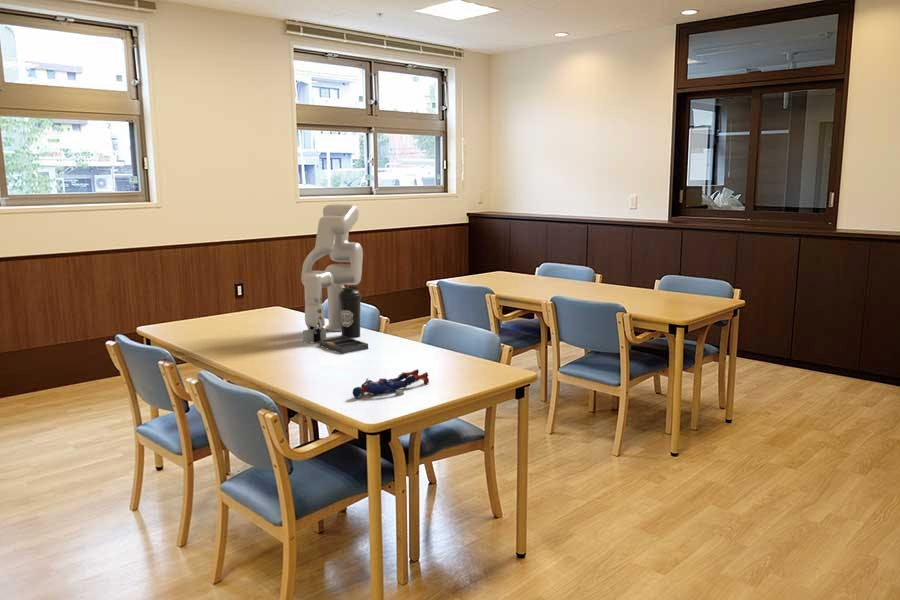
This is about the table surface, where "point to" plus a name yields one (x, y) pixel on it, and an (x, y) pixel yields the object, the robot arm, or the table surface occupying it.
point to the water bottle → (350, 311)
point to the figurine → (390, 384)
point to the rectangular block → (312, 335)
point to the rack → (343, 344)
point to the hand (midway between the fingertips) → (314, 340)
